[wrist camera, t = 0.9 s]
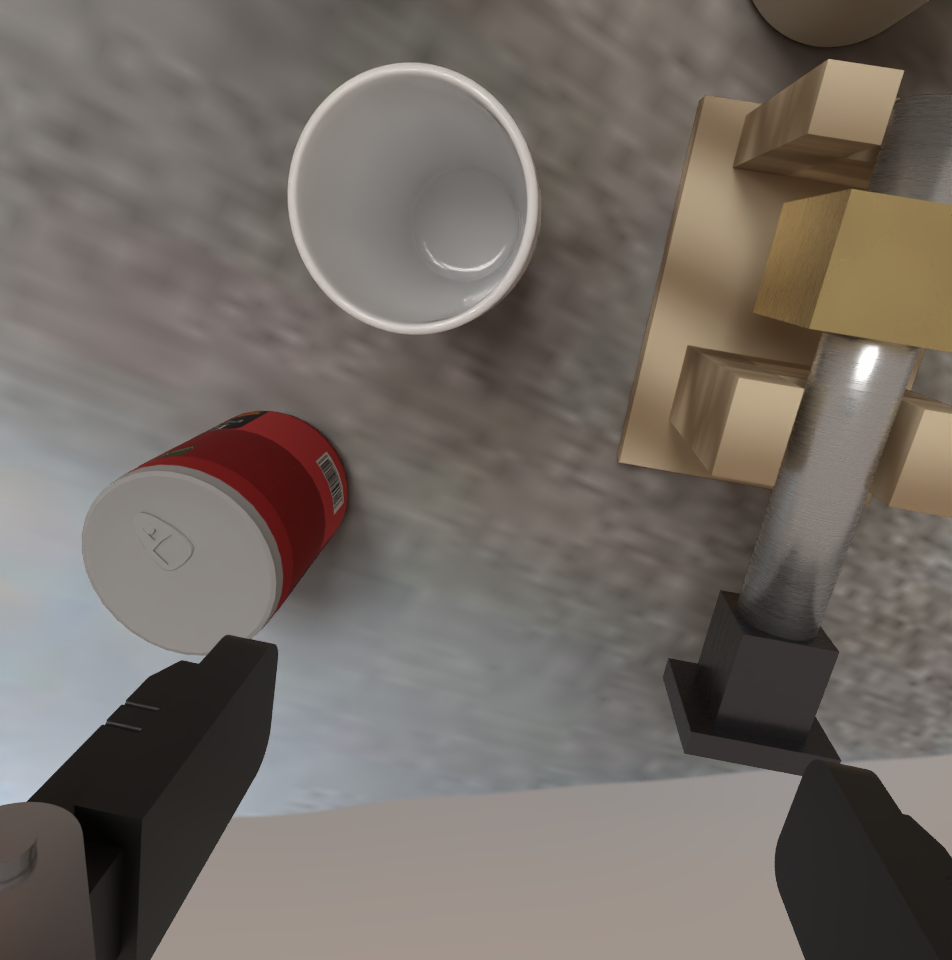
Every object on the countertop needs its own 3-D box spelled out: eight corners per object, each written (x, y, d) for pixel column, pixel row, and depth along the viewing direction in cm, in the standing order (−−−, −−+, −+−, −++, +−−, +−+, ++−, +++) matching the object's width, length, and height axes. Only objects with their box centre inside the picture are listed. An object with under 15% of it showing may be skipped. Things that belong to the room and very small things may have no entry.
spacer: (783, 202, 26) (851, 188, 20) (947, 229, 25) (1063, 222, 20) (753, 312, 27) (809, 328, 21) (909, 338, 27) (1007, 362, 21)
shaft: (825, 108, 24) (895, 72, 19) (991, 134, 24) (1103, 104, 19) (663, 677, 31) (684, 753, 26) (788, 700, 31) (832, 781, 26)
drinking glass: (448, 329, 34) (379, 385, 19) (368, 203, 32) (230, 165, 18) (570, 249, 32) (591, 247, 18) (491, 113, 31) (446, -8, 16)
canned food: (251, 377, 35) (128, 428, 25) (381, 467, 36) (315, 553, 26) (183, 491, 38) (46, 582, 27) (307, 573, 39) (220, 691, 28)
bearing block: (699, 100, 30) (772, 29, 20) (983, 145, 29) (1193, 94, 20) (616, 455, 35) (644, 530, 25) (857, 498, 34) (977, 591, 25)
